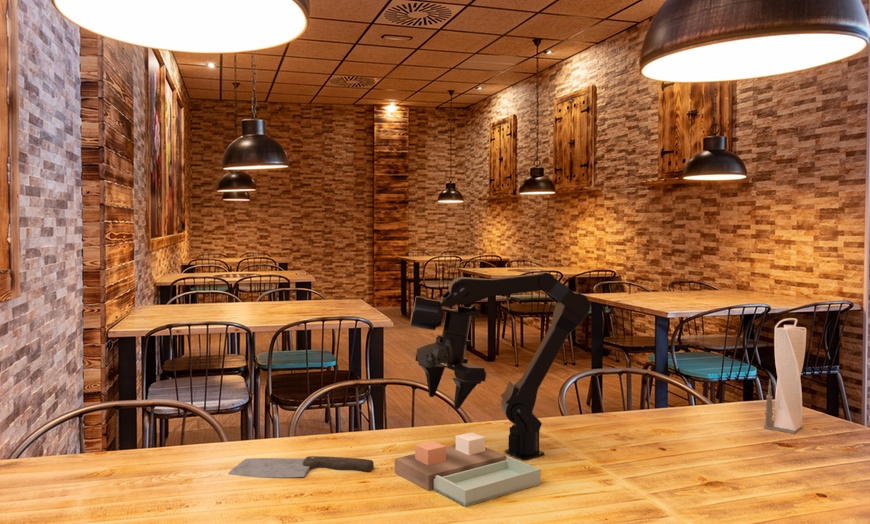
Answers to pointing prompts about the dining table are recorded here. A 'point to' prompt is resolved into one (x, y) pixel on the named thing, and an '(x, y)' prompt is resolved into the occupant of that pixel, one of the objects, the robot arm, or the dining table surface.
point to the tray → (487, 481)
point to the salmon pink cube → (430, 452)
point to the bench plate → (443, 465)
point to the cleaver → (297, 466)
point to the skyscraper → (787, 379)
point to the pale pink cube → (470, 443)
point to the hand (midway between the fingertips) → (443, 402)
